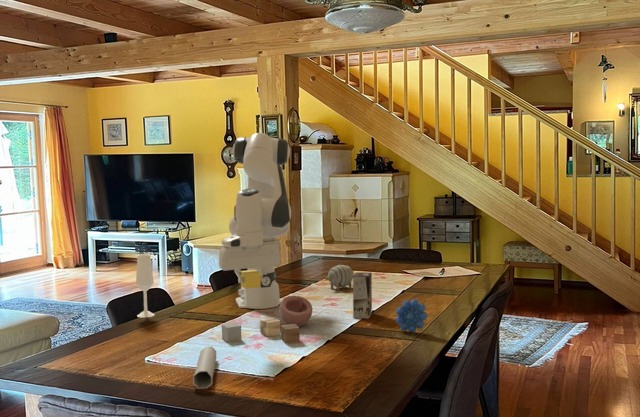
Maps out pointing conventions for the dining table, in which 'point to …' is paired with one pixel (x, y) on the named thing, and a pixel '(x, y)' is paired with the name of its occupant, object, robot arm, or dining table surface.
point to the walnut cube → (290, 333)
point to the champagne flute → (144, 279)
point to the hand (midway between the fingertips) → (250, 281)
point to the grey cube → (231, 332)
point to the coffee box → (362, 295)
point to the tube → (205, 368)
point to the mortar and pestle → (295, 310)
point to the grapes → (411, 315)
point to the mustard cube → (251, 279)
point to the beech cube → (270, 326)
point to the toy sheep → (340, 276)
